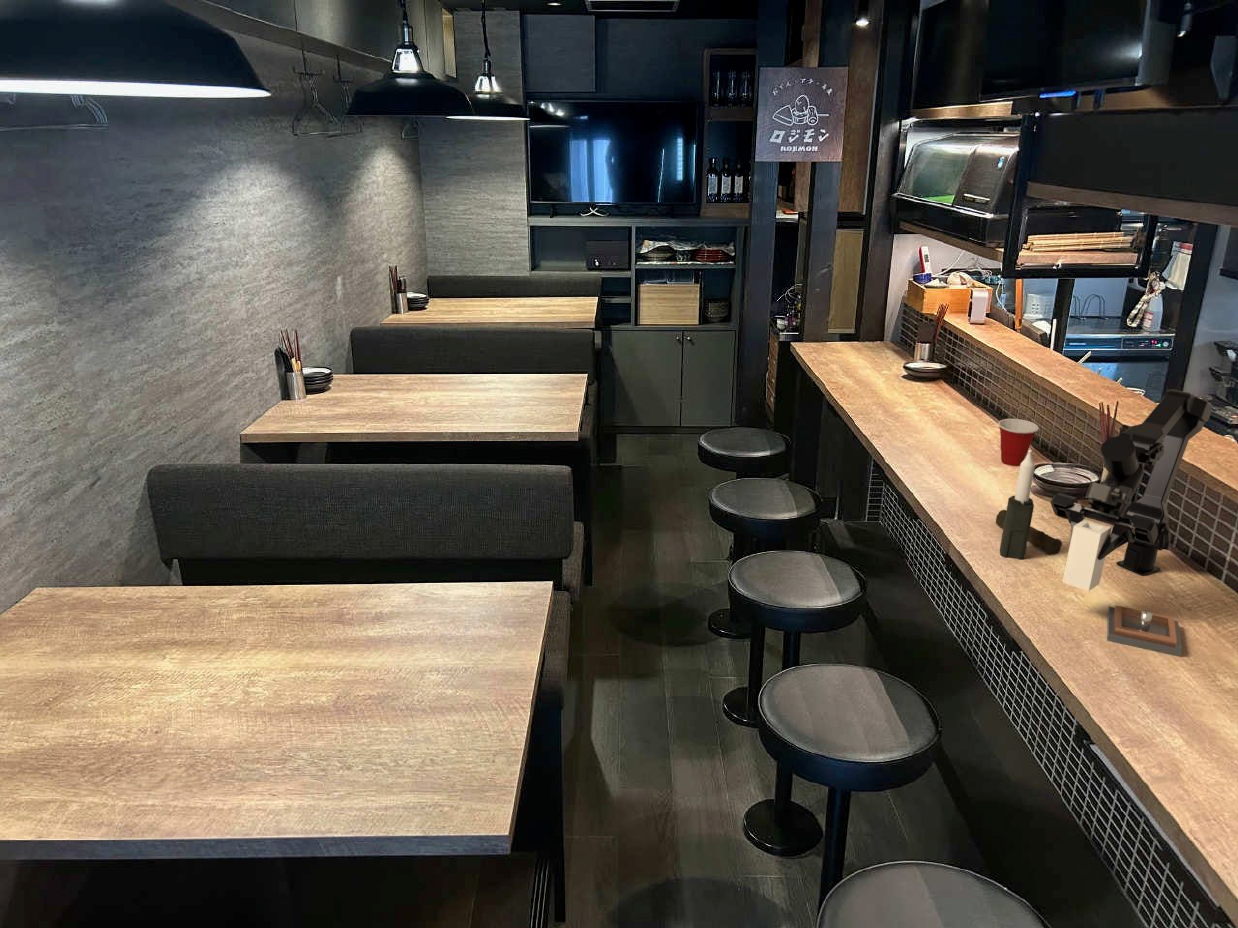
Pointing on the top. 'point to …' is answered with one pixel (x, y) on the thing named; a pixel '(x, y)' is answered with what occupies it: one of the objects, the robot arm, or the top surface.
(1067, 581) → the sleeve
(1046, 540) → the hand tool
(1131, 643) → the seat plate
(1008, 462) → the plastic cup
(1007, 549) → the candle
